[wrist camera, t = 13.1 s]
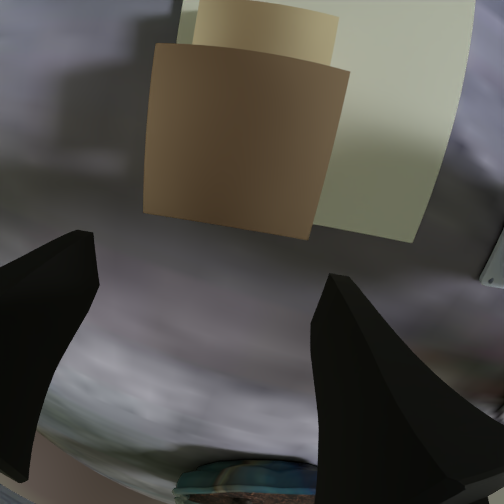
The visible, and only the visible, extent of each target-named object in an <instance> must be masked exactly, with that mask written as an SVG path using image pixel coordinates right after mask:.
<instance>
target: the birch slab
mask: <svg viewBox="0 0 504 504" xmlns="http://www.w3.org/2000/svg"><path fill="white" fill-rule="evenodd" d="M338 22H339V17H337V16H333V15H329V14H325V13H321V12H317V11H312V10H307V9H303V8H298V7H292V6H287V5H281V4H274V3H268V2H260V1H252V0H200V1H199V7H198V12H197V18H196V24H195V30H194V36H193V43H192V44H194V45H207V46H218V47H227V48H236V49H244V50H251V51H258V52H264V53H270V54H276V55H281V56H287V57H292V58H297V59H301V60H306V61H311V62H315V63H319V64H323V65H327V66H330V64H331V59H332V54H333V48H334V43H335V38H336V33H337V27H338Z"/></svg>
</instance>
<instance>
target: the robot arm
mask: <svg viewBox="0 0 504 504" xmlns="http://www.w3.org/2000/svg"><path fill="white" fill-rule="evenodd" d="M489 279H490V280H489ZM479 281H480V283H481V284H482V285H484V286H490V287H496V288H502V289H504V228H503V231H502V233H501V235H500V237H499V240H498V242H497V244H496V246H495V248H494V250H493V252H492V254H491V256H490V258H489V260H488V262H487V264H486V266H485V268H484V270H483V272H482V274H481V275H480V278H479ZM99 286H100V284H99V277H98V270H97V262H96V254H95V245H94V235H93V232H87V231H81V230H75V231H72V232H70V233H67V234H65V235H63V236H61V237H59V238H57V239H55V240H53V241H51V242H49V243H47V244H45V245H43V246H41V247H39V248H37V249H35V250H33V251H31V252H29V253H27V254H26V255H24V256H22V257H20V258H18V259H16V260H14V261H12V262H10V263H8V264H6V265H4V266H2V267H0V472H1V473H3V474H4V475H6V476H8V477H9V478H11V479H13V480H15V481H17V482H18V483H22V482H25V481H27V480H28V478H29V467H30V460H31V452H32V446H33V441H34V437H35V432H36V428H37V423H38V420H39V416H40V413H41V409H42V406H43V403H44V399H45V396H46V394H47V391H48V388H49V385H50V383H51V380H52V377H53V375H54V372H55V370H56V368H57V366H58V364H59V362H60V360H61V358H62V357H63V355H64V353H65V351H66V349H67V348H68V346H69V344H70V342H71V340H72V339H73V337H74V335H75V334H76V332H77V330H78V328H79V327H80V325H81V323H82V321H83V320H84V318H85V316H86V314H87V313H88V311H89V309H90V307H91V304H92V302H93V300H94V297H95V295H96V293H97V290H98V288H99ZM310 351H311V361H312V369H313V377H314V385H315V394H316V402H317V411H318V424H319V441H318V467H317V483H316V493H315V502H314V504H489V501H488V496H489V495H491V494H493V493H494V492H496V491H498V490H499V489H501V488H503V487H504V425H503V424H501V423H499V422H497V421H496V420H494V419H492V418H491V417H489V416H488V415H486V414H485V413H484V412H482V411H481V410H479V409H478V408H476V407H475V406H473V405H472V404H471V403H469V402H468V401H467V400H465V399H464V398H463V397H462V396H460V395H459V394H458V393H457V392H455V391H454V390H453V389H452V388H451V387H449V386H448V385H447V384H446V383H445V382H444V381H442V380H441V379H440V378H439V377H438V376H437V375H436V374H435V373H434V372H433V371H432V370H430V369H429V368H428V367H427V366H426V365H425V364H424V363H423V362H422V361H421V360H420V359H419V358H418V357H417V356H416V355H415V354H414V353H413V352H412V351H411V350H410V348H409V347H408V346H407V345H406V344H405V343H404V342H403V341H402V340H401V338H400V337H399V336H398V335H397V334H396V333H395V332H394V330H393V329H392V328H391V327H390V326H389V325H388V323H387V322H386V321H385V320H384V319H383V317H382V316H381V315H380V314H379V312H378V311H377V310H376V309H375V307H374V306H373V305H372V304H371V302H370V301H369V300H368V299H367V298H366V296H365V295H364V294H363V293H362V291H361V290H360V289H359V288H358V286H357V285H356V284H355V283H354V282H353V281H352V280H351V279H350V277H348V276H342V275H336V274H330V273H329V276H328V279H327V282H326V284H325V287H324V290H323V292H322V295H321V298H320V300H319V303H318V306H317V308H316V311H315V313H314V316H313V318H312V321H311V332H310ZM0 504H35V503H33V502H31V501H29V500H27V499H26V498H24V497H22V496H20V495H18V494H16V493H15V492H13V491H11V490H10V489H8V488H6V487H4V486H3V485H1V484H0Z"/></svg>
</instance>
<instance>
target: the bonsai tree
mask: <svg viewBox="0 0 504 504" xmlns="http://www.w3.org/2000/svg"><path fill="white" fill-rule="evenodd" d="M316 483H317V467H316V466H313V465H310V464H303V463H294V462H286V461H266V460H239V461H224V462H215V463H211V464H207V465H203V466H199V467H198V468H197V469H196V470H195V471H190V472H186V473H183V474H182V475H181V477H180V478H179V480H178V482H177V484H176V488H174V489H173V490H172V493H173V495H175V496H177V497H175V498H174V499H175V503H176V504H314V502H315V493H316Z"/></svg>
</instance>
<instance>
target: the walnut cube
mask: <svg viewBox="0 0 504 504" xmlns="http://www.w3.org/2000/svg"><path fill="white" fill-rule="evenodd" d="M349 76H350V71H346V70H343V69H339V68H335V67H331V66H327V65H323V64H319V63H315V62H311V61H306V60H301V59H297V58H292V57H287V56H281V55H276V54H270V53H264V52H258V51H251V50H244V49H236V48H227V47H218V46H207V45H194V44H174V43H156V45H155V52H154V59H153V67H152V75H151V84H150V93H149V103H148V114H147V127H146V142H145V161H144V189H143V213H147V214H153V215H160V216H166V217H172V218H179V219H185V220H191V221H197V222H204V223H210V224H216V225H222V226H228V227H234V228H240V229H246V230H252V231H257V232H263V233H269V234H275V235H281V236H286V237H292V238H298V239H303V240H308V239H309V235H310V232H311V228H312V225H313V221H314V217H315V214H316V210H317V206H318V203H319V199H320V195H321V192H322V188H323V184H324V180H325V176H326V173H327V169H328V165H329V161H330V157H331V153H332V149H333V145H334V141H335V137H336V133H337V129H338V124H339V120H340V116H341V112H342V107H343V103H344V99H345V94H346V90H347V85H348V81H349Z"/></svg>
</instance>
